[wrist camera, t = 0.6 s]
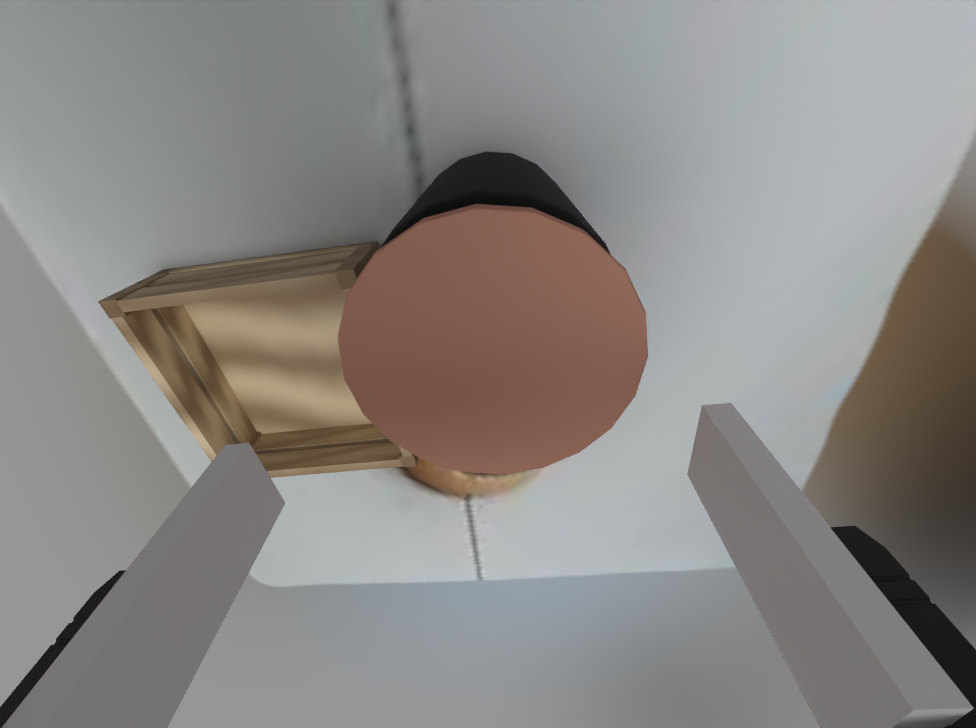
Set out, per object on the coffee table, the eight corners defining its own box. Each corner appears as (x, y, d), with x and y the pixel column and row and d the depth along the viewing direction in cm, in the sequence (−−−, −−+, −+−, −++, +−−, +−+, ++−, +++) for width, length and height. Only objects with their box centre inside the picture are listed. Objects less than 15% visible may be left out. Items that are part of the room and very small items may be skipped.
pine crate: (162, 269, 31) (97, 301, 26) (377, 241, 30) (353, 268, 24) (258, 434, 40) (224, 482, 35) (426, 419, 39) (416, 465, 33)
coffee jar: (487, 326, 33) (481, 510, 18) (388, 226, 29) (271, 356, 14) (597, 239, 29) (708, 381, 14) (501, 109, 25) (512, 112, 10)
